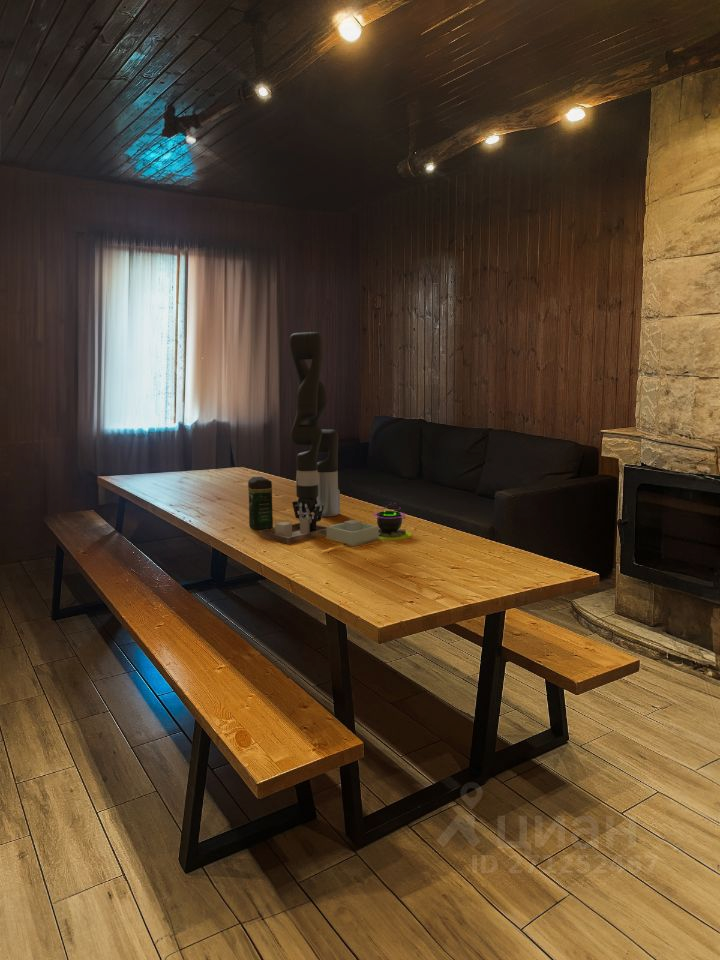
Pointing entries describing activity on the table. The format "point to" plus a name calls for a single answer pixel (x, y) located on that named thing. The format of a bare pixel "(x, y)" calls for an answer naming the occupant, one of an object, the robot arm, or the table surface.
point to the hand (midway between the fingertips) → (308, 532)
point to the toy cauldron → (391, 525)
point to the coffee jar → (260, 503)
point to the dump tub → (353, 534)
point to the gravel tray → (294, 534)
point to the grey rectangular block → (305, 525)
